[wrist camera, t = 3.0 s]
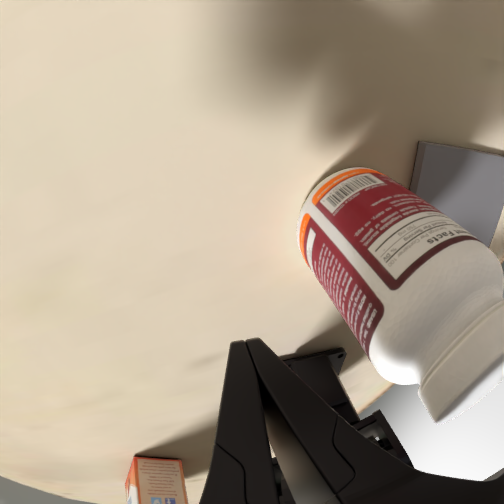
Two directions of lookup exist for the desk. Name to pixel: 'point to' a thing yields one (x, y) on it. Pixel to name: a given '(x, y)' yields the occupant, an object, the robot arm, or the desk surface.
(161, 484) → the cracker box
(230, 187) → the desk surface
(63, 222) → the desk surface
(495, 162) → the mat
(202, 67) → the desk surface
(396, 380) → the pill bottle
